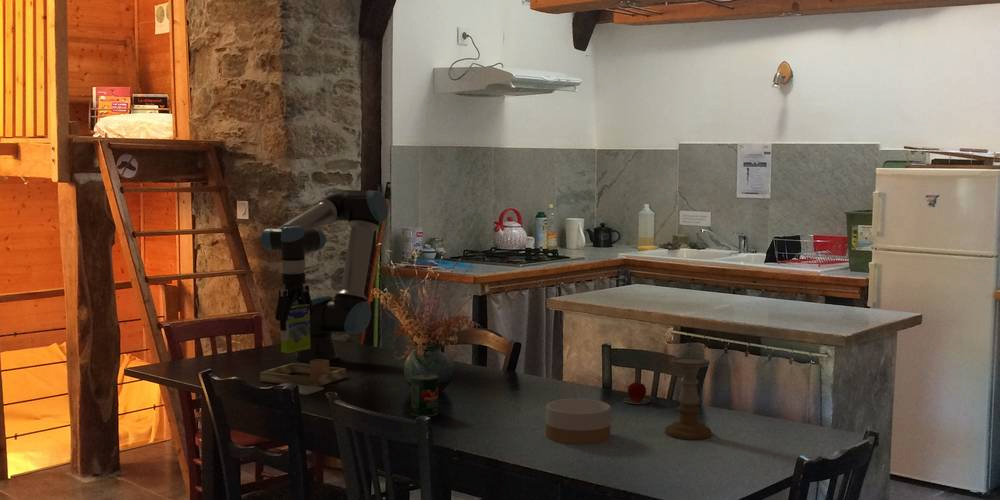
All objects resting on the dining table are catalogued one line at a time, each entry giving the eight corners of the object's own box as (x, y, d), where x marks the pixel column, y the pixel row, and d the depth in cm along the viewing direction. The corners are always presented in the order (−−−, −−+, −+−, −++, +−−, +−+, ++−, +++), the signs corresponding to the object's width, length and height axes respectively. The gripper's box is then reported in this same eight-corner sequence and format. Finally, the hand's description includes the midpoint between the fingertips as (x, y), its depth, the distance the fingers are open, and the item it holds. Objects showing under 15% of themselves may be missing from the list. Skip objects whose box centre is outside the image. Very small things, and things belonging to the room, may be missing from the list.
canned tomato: (431, 417, 294) (431, 379, 293) (406, 415, 297) (406, 377, 296) (442, 411, 301) (442, 374, 300) (418, 409, 304) (418, 372, 303)
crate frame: (292, 371, 359) (292, 363, 358) (346, 377, 349) (346, 368, 349) (260, 381, 342) (260, 372, 342) (315, 387, 333) (314, 378, 333)
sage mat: (285, 384, 337) (285, 383, 337) (323, 389, 330) (323, 387, 330) (268, 390, 329) (268, 388, 329) (307, 394, 322) (306, 392, 322)
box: (287, 353, 342) (286, 302, 340) (279, 352, 344) (278, 301, 343) (311, 348, 350) (310, 298, 348) (303, 347, 353) (302, 297, 351)
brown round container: (563, 448, 263) (564, 415, 263) (535, 432, 279) (535, 401, 278) (622, 441, 270) (622, 409, 270) (590, 425, 286) (591, 396, 285)
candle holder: (719, 438, 273) (721, 363, 271) (677, 441, 270) (679, 365, 268) (698, 426, 285) (699, 354, 283) (657, 429, 281) (658, 357, 280)
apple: (630, 398, 320) (631, 377, 319) (654, 401, 315) (654, 380, 315) (618, 403, 313) (618, 381, 313) (641, 406, 309) (642, 385, 308)
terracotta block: (316, 379, 346) (316, 358, 345) (329, 380, 344) (329, 360, 343) (309, 381, 342) (309, 360, 342) (322, 382, 340) (322, 362, 340)
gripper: (305, 267, 356) (306, 330, 359) (262, 276, 335) (264, 342, 338) (323, 268, 353) (324, 332, 356) (281, 277, 332) (283, 344, 335)
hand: (295, 337), depth 347 cm, fingers closed on box, 11 cm apart
